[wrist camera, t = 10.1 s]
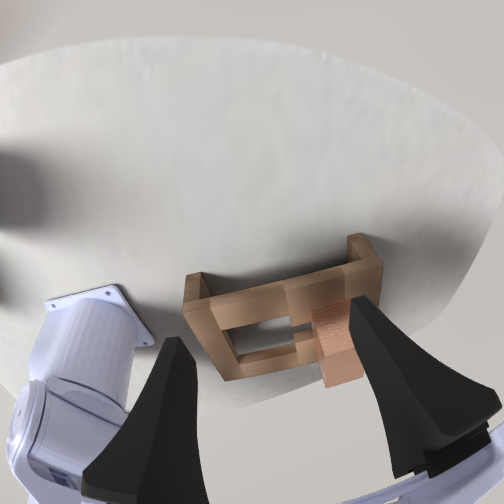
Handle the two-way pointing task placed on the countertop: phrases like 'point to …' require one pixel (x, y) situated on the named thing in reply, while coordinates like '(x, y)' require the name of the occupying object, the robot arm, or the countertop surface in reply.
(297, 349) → the keyhole plate
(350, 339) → the peg
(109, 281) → the countertop surface
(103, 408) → the robot arm
